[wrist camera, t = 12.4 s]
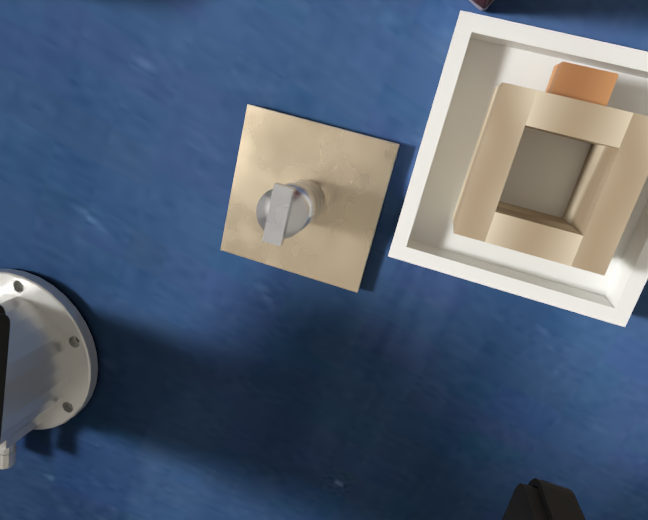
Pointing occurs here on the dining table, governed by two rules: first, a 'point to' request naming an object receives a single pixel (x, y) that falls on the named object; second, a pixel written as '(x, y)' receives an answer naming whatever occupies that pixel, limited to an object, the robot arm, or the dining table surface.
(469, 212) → the collar
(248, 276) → the dining table surface
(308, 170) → the square lid with knob
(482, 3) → the supplement box
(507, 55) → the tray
